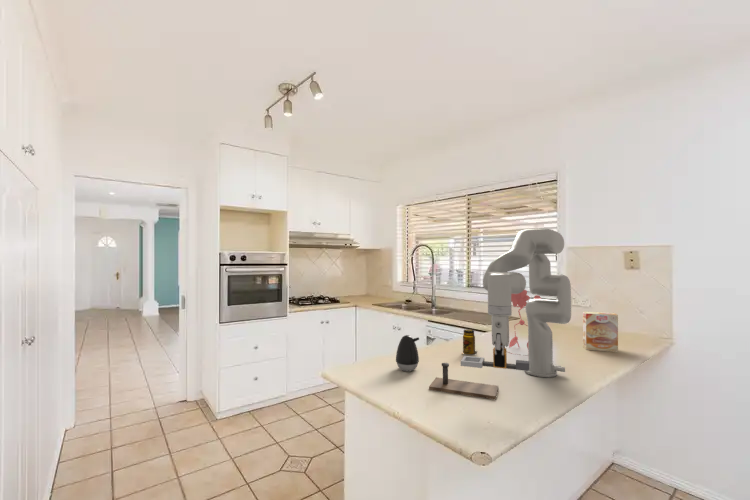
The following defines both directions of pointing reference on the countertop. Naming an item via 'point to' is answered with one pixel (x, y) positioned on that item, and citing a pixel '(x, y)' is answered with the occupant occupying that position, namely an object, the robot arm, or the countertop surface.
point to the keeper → (463, 386)
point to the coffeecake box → (600, 331)
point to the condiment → (469, 342)
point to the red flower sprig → (521, 302)
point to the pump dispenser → (407, 354)
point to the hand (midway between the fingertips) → (500, 364)
